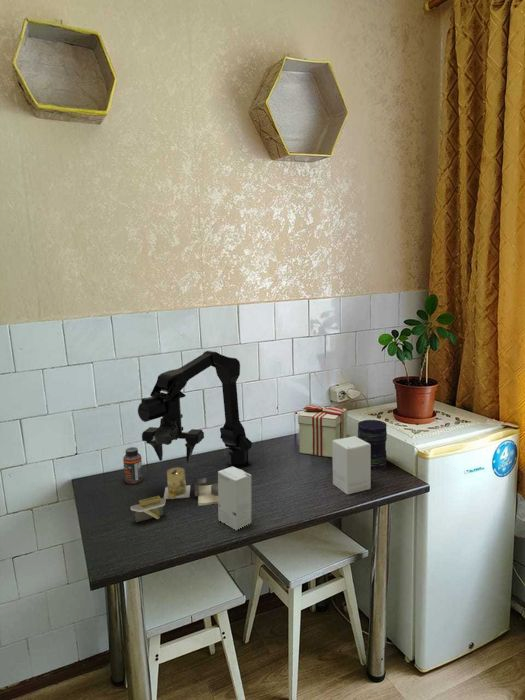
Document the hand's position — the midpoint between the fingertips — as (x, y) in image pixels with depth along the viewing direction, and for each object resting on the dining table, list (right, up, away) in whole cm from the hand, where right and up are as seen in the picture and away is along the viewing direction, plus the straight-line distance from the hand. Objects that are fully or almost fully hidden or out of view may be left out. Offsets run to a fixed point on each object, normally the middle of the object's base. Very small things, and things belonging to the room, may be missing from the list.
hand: (174, 461), depth 157 cm
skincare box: (+20, -13, -18) cm, 30 cm away
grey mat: (+1, -10, +2) cm, 11 cm away
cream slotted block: (+14, -10, -1) cm, 17 cm away
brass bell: (+1, -10, +2) cm, 10 cm away
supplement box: (+56, -9, +2) cm, 57 cm away
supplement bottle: (-16, -10, +12) cm, 22 cm away
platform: (-4, -14, -14) cm, 21 cm away
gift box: (+51, -3, +36) cm, 62 cm away
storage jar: (+66, -6, +18) cm, 69 cm away
